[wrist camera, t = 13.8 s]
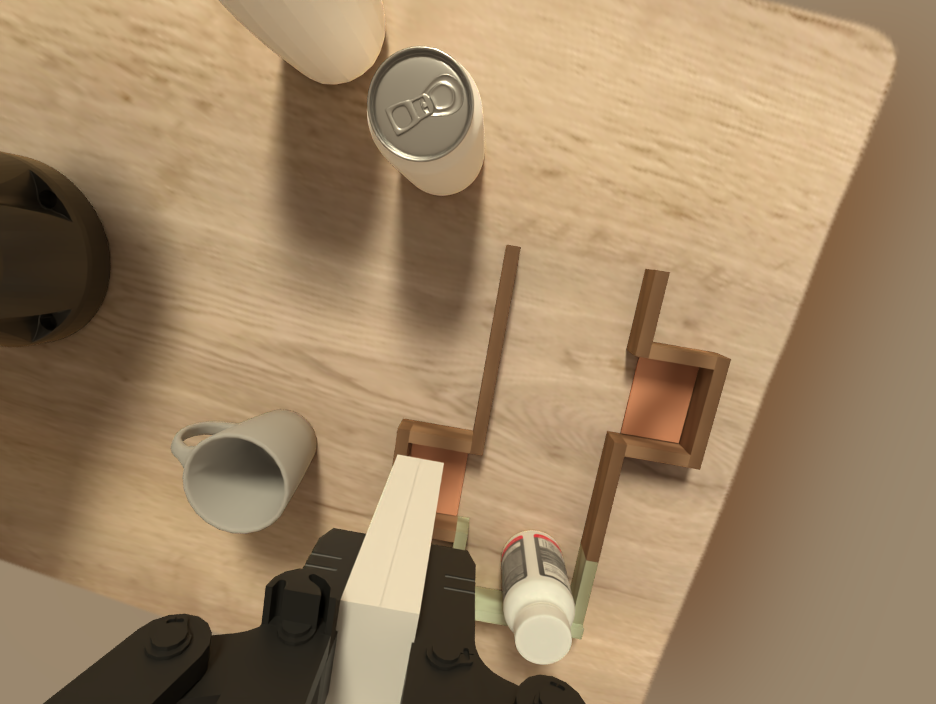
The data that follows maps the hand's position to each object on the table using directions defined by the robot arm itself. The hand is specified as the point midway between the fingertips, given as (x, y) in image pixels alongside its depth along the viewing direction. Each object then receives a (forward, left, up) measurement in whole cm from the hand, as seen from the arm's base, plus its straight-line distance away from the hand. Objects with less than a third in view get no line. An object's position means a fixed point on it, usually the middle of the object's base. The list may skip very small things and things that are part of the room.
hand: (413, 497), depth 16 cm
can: (-4, +15, -25) cm, 29 cm away
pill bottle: (+9, -17, -25) cm, 32 cm away
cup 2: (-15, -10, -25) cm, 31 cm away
